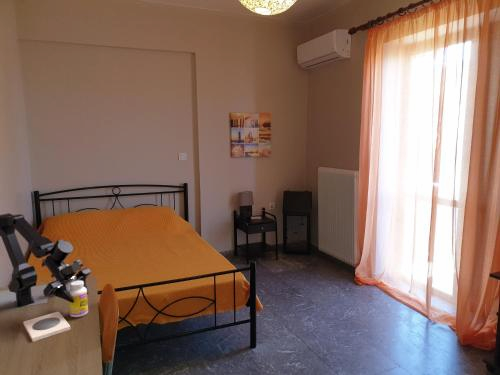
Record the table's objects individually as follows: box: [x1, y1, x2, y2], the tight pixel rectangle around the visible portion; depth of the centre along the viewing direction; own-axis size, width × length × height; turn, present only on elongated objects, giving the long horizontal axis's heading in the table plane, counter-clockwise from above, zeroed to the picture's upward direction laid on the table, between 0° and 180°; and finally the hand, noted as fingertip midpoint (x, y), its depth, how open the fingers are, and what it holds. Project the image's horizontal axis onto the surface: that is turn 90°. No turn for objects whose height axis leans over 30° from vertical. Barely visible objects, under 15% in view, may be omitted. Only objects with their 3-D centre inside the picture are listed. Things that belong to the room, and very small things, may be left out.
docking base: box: [23, 311, 72, 343], centre depth 134 cm, size 16×12×1 cm
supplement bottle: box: [68, 281, 89, 318], centre depth 142 cm, size 7×7×13 cm
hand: (80, 298), depth 142 cm, fingers closed on supplement bottle, 7 cm apart
